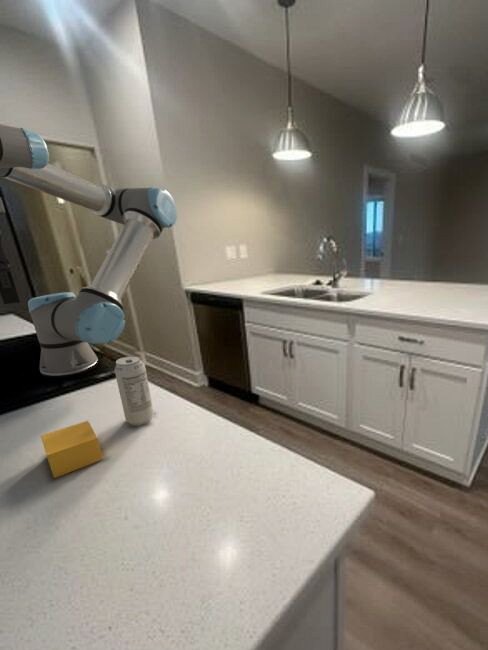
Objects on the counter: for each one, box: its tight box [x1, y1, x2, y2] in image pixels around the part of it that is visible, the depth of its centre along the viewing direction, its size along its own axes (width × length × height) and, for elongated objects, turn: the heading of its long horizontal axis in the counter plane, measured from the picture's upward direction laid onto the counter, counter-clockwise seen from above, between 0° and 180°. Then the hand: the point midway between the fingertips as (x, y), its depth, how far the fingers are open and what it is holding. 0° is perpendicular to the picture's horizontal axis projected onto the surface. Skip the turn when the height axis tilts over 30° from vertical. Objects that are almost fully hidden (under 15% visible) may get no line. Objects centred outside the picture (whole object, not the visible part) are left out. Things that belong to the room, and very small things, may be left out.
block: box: [40, 420, 104, 479], centre depth 66 cm, size 8×8×5 cm
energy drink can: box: [114, 355, 155, 426], centre depth 77 cm, size 6×6×15 cm
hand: (10, 298), depth 78 cm, fingers open, 13 cm apart
